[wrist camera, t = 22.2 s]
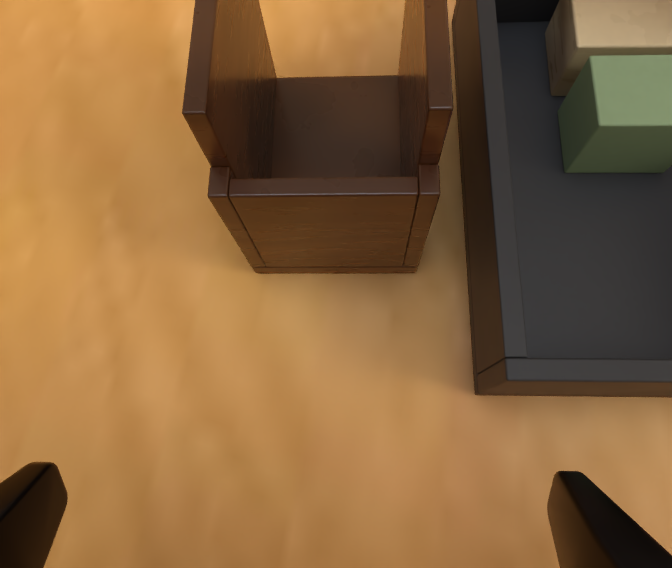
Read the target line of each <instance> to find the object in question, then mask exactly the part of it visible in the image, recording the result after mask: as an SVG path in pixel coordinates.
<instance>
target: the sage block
mask: <svg viewBox="0 0 672 568" xmlns="http://www.w3.org/2000/svg"><path fill="white" fill-rule="evenodd" d="M558 120H559V129H560V138H561V147H562V156H563V165H564V172H565V173H663V172H665V171H666V170H667V169H668V168H669V167H670V166H671V165H672V55H600V56H590V57H589V58H588V60H587V62H586V63H585V65H584V67H583V68H582V70H581V72H580V74H579V75H578V77H577V79H576V80H575V82H574V84H573V86H572V87H571V89H570V91H569V92H568V94H567V96H566V98H565V99H564V101H563V103H562V104H561V106H560V108H559V110H558Z"/></svg>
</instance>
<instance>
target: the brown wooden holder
mask: <svg viewBox="0 0 672 568" xmlns="http://www.w3.org/2000/svg"><path fill="white" fill-rule="evenodd" d="M452 111H453V96H452V79H451V62H450V45H449V28H448V12H447V0H405V10H404V20H403V30H402V41H401V51H400V61H399V72H398V75H393V76H344V77H295V78H277V77H276V73H275V68H274V64H273V60H272V56H271V51H270V47H269V43H268V38H267V34H266V30H265V26H264V21H263V17H262V13H261V9H260V4H259V0H195V8H194V17H193V25H192V34H191V42H190V51H189V59H188V68H187V76H186V85H185V93H184V102H183V111H182V114H183V116H184V118H185V119H186V121H187V123H188V125H189V127H190V129H191V130H192V132H193V134H194V136H195V138H196V140H197V141H198V143H199V145H200V147H201V149H202V151H203V152H204V154H205V156H206V158H207V160H208V162H209V163H210V165H211V168H210V176H209V187H208V198H209V199H210V201H211V203H212V204H213V206H214V207H215V209H216V211H217V212H218V214H219V215H220V217H221V219H222V220H223V222H224V223H225V225H226V227H227V228H228V230H229V231H230V233H231V235H232V236H233V238H234V239H235V241H236V243H237V244H238V246H239V247H240V249H241V251H242V252H243V254H244V255H245V257H246V259H247V260H248V262H249V263H250V265H251V266H252V268H253V269H254V271H255V272H256V273H414V272H416V270H417V266H418V264H419V260H420V257H421V254H422V251H423V248H424V244H425V241H426V238H427V235H428V231H429V228H430V225H431V222H432V219H433V215H434V212H435V209H436V206H437V202H438V199H439V196H440V178H439V166H438V163H439V159H440V155H441V152H442V148H443V144H444V140H445V137H446V133H447V129H448V126H449V122H450V118H451V115H452Z"/></svg>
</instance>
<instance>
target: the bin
mask: <svg viewBox="0 0 672 568" xmlns="http://www.w3.org/2000/svg"><path fill="white" fill-rule="evenodd" d="M558 2H559V0H456V5H455V9H454V14H453V19H452V32H453V48H454V64H455V80H456V97H457V113H458V129H459V146H460V162H461V178H462V194H463V211H464V227H465V243H466V260H467V276H468V292H469V308H470V325H471V341H472V357H473V374H474V390H475V395H513V396H603V397H672V165H671V166H670V167H669V168H668V169H667V170H666V171H665V172H663V173H565V172H564V165H563V156H562V147H561V138H560V129H559V120H558V110H559V108H560V106H561V104H562V103H563V101H564V99H565V98H566V96H551V90H550V80H549V70H548V60H547V50H546V39H545V32H546V29H547V27H548V25H549V23H550V20H551V18H552V16H553V14H554V11H555V9H556V7H557V5H558Z"/></svg>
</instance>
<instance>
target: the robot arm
mask: <svg viewBox="0 0 672 568" xmlns="http://www.w3.org/2000/svg"><path fill="white" fill-rule="evenodd" d="M67 498H68V497H67V491H66V488H65V485H64V483H63V480H62V477H61V475H60V472H59V470H58V467H57V466H56V465H55V464H54V463H52V462H32V463H29V464H28V465H26V466H24V467H23V468H21V469H20V470H19V471H17V472H16V473H14V474H13V475H11V476H10V477H9V478H7V479H6V480H4V481H3V482H1V483H0V568H44V565H45V562H46V560H47V557H48V554H49V551H50V549H51V546H52V543H53V541H54V538H55V535H56V533H57V530H58V527H59V524H60V522H61V519H62V516H63V514H64V511H65V508H66V505H67ZM547 510H548V518H549V522H550V526H551V531H552V535H553V539H554V544H555V548H556V552H557V557H558V561H559V565H560V568H672V555H671V554H670V553H669V552H667V551H666V550H665V549H664V548H663V547H662V546H661V545H660V544H659V543H658V542H657V541H656V540H654V539H653V538H652V537H651V536H650V535H649V534H648V533H647V532H646V531H645V530H644V529H643V528H642V527H640V526H639V525H638V524H637V523H636V522H635V521H634V520H633V519H632V518H631V517H630V516H629V515H627V514H626V513H625V512H624V511H623V510H622V509H621V508H620V507H619V506H618V505H617V504H616V503H614V502H613V501H612V500H611V499H610V498H609V497H608V496H607V495H606V494H605V493H604V492H603V491H602V490H600V489H599V488H598V487H597V486H596V485H595V484H594V483H593V482H592V481H591V480H590V479H589V478H587V477H586V476H585V475H584V474H583V473H581V472H578V471H558V472H556V474H555V475H554V478H553V482H552V487H551V491H550V495H549V499H548V505H547Z"/></svg>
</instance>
